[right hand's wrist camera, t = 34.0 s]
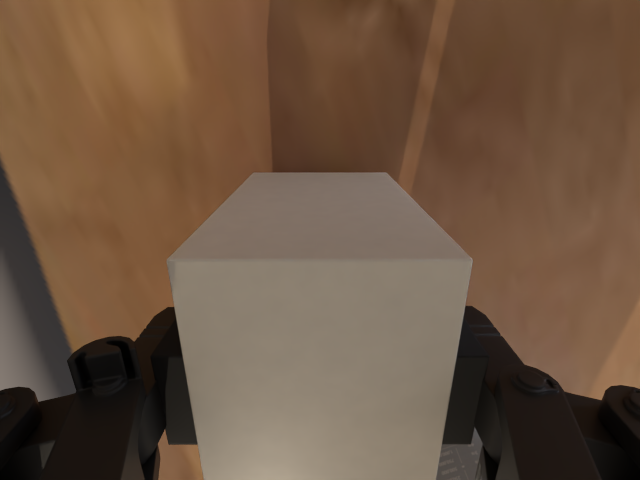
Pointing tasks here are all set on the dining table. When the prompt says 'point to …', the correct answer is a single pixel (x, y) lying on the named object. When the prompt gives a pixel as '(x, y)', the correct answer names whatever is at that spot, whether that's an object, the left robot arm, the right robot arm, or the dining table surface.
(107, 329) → the dining table surface
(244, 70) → the dining table surface
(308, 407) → the brick
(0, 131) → the dining table surface
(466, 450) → the hard drive box
